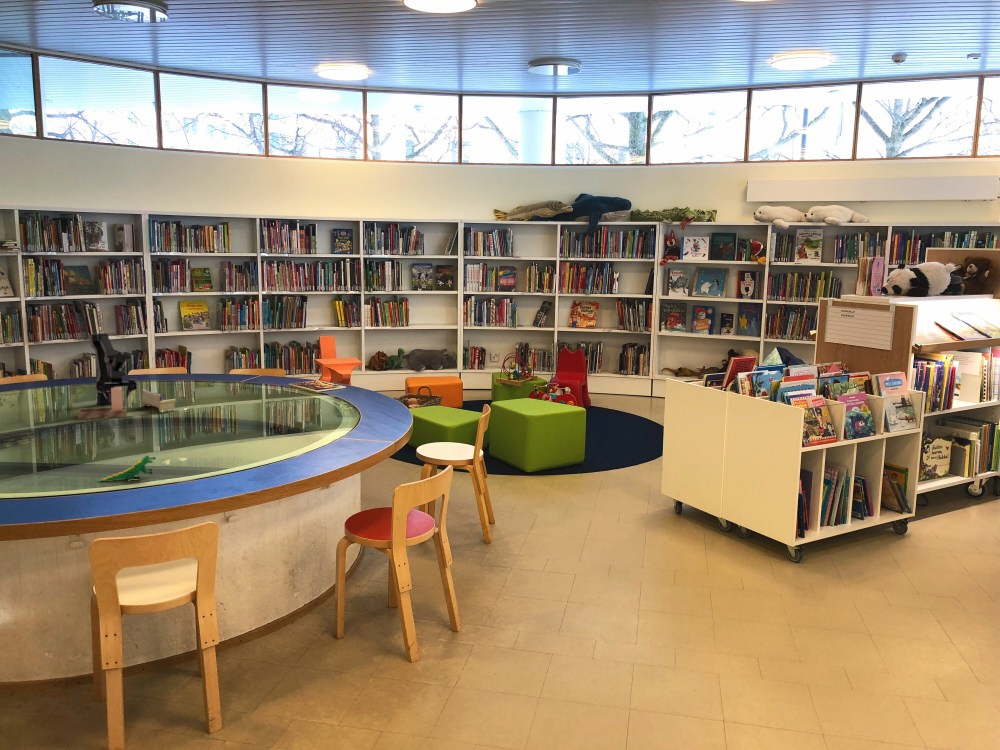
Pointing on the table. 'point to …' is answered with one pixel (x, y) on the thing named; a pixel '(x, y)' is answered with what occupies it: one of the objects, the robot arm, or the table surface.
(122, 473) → the crocodile
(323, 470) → the table surface
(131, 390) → the robot arm
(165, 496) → the table surface
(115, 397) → the coral block
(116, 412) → the box
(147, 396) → the toy sofa
